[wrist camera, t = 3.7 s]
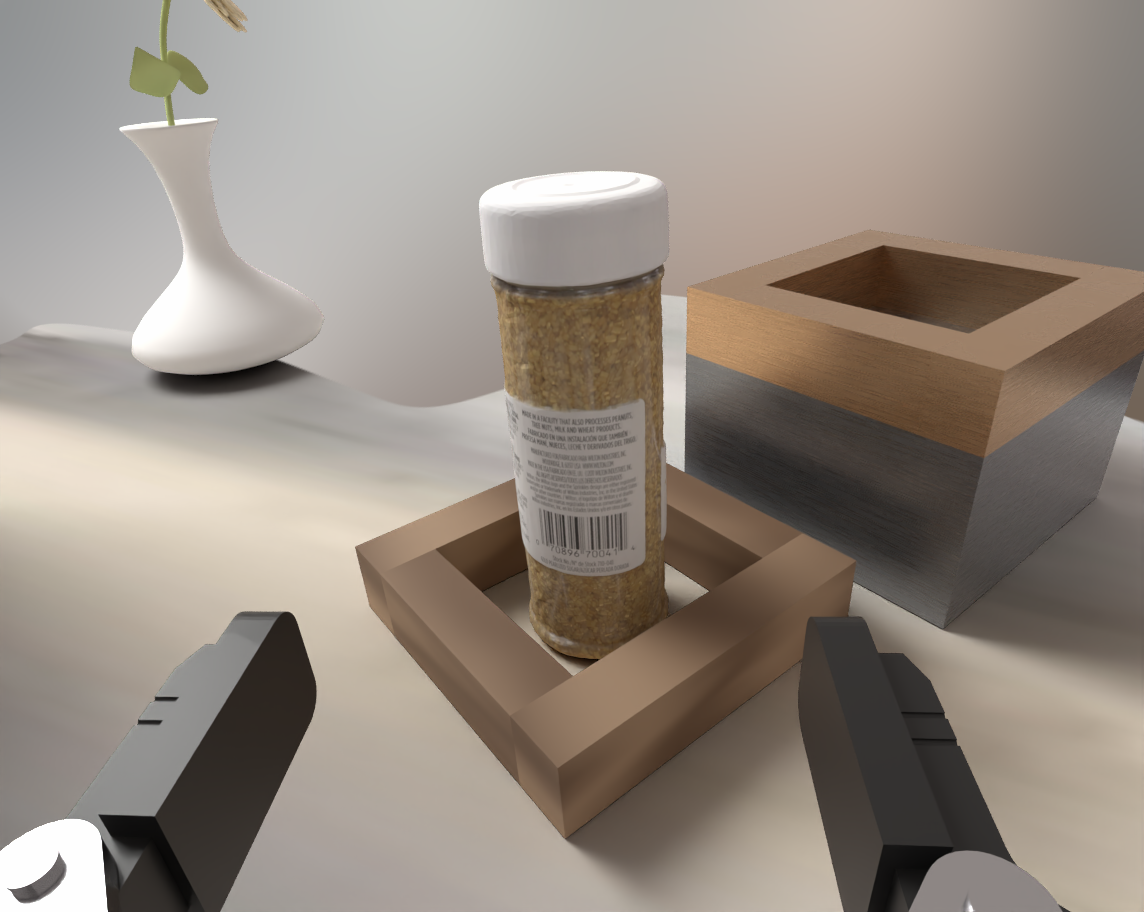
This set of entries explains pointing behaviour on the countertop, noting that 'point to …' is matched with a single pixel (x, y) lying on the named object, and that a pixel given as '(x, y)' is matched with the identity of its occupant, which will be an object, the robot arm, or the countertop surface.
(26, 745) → the countertop surface
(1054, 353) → the grey wooden square box
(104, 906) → the robot arm
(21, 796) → the countertop surface
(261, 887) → the countertop surface
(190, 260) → the flower in vase
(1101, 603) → the countertop surface
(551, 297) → the seasoning jar
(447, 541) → the walnut stand
